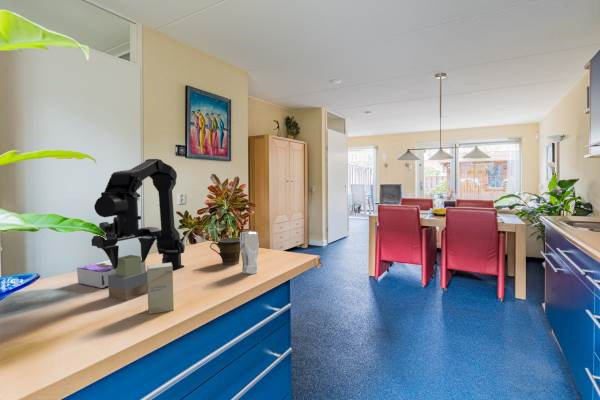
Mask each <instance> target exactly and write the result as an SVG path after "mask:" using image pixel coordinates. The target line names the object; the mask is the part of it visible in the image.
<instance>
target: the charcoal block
mask: <svg viewBox="0 0 600 400" xmlns="http://www.w3.org/2000/svg"><path fill="white" fill-rule="evenodd" d="M147 283H148V282H147V270H146V271H144V270H142V273H138V274H135V275H131V276H128V277H124V276H119V275H116V273H115V274H111V275H108V285H109V286H108V288H109V287H112V288H115V289H119V290H123V291H126V290H129V289H132V288H135V287H138V286H141V285H144V284H147Z"/></svg>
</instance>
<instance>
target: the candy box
mask: <svg viewBox="0 0 600 400" xmlns="http://www.w3.org/2000/svg"><path fill="white" fill-rule="evenodd" d="M119 257H120V256H118V258H119ZM141 267H142V270H144V271H147V267H146V260H145V261H142V259H141ZM76 273H77V282H78V283H77V284H80V285H84V286H89V287H95V288H99V289H104V288H107V287H108V288H109V285H108V275H111V274H115V273H116V268H114V267H113V266H112V264H111V262H110V260H109V259H107V260H103V261H99V262H95V263H91V264H86V265H83V266H77V267H76Z"/></svg>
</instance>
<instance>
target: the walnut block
mask: <svg viewBox="0 0 600 400" xmlns="http://www.w3.org/2000/svg"><path fill="white" fill-rule="evenodd" d="M145 295H148V283H147V284H144V285H141V286H138V287H135V288H132V289H129V290H126V291H123V290H119V289H115V288H112V287H109V286H108V298H111V299H115V300H116V301H117V300H118V301H121V302H129V301H132V300H134V299H136V298H139V297H143V296H145Z"/></svg>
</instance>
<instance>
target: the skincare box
mask: <svg viewBox="0 0 600 400" xmlns="http://www.w3.org/2000/svg"><path fill="white" fill-rule="evenodd" d="M146 271H147V282H148V294H147V303H148V305H147V306H148V308H147V309H148V314H149V315H153V314H158V313H165V312H170V311H174V307H175V305H174V275H173V273H174V272H173V271H174V270H173V267H172V263H171V262H170V263H154V264H147V265H146Z"/></svg>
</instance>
